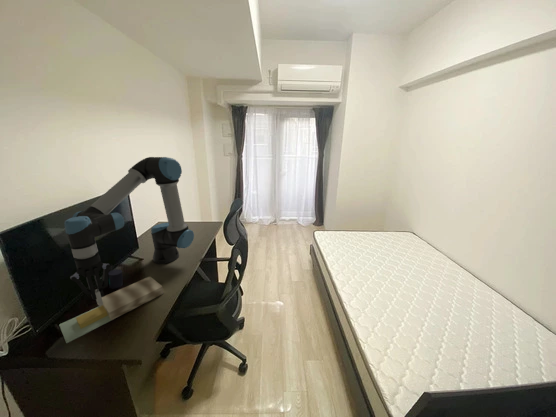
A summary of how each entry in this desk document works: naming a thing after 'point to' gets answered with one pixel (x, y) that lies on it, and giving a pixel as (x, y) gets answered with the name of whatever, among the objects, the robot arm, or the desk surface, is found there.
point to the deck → (131, 297)
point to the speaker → (114, 278)
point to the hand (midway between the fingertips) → (100, 303)
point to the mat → (73, 329)
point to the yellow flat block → (91, 317)
